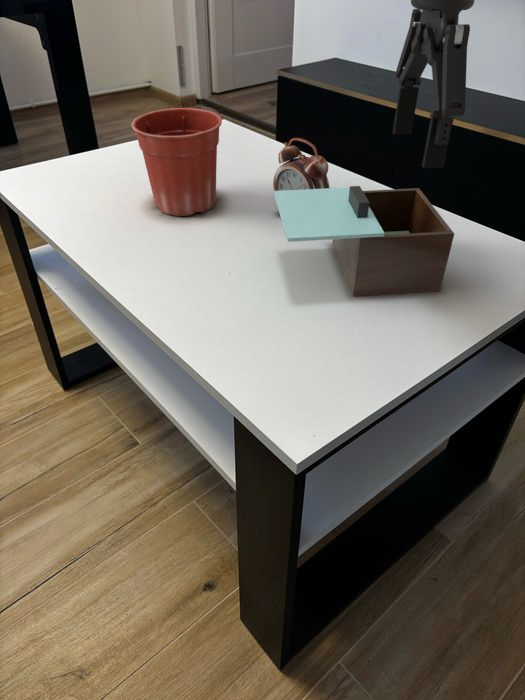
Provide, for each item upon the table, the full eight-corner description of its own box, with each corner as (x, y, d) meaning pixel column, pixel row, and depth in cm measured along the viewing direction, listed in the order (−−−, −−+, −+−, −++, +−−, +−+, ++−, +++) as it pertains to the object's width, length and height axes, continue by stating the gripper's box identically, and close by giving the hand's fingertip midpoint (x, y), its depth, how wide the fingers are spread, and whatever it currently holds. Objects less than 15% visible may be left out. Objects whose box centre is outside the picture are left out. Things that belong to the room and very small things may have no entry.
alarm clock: (271, 213, 106) (271, 135, 96) (288, 205, 108) (290, 128, 99) (313, 232, 100) (318, 150, 90) (329, 223, 102) (336, 143, 93)
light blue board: (384, 236, 78) (387, 217, 76) (287, 242, 76) (288, 222, 74) (357, 190, 90) (359, 172, 88) (273, 194, 89) (274, 176, 87)
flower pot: (133, 196, 112) (119, 115, 101) (206, 180, 118) (200, 102, 107) (161, 229, 101) (149, 142, 90) (240, 210, 107) (237, 126, 96)
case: (440, 291, 85) (454, 233, 78) (352, 296, 84) (360, 238, 77) (408, 241, 97) (419, 188, 91) (332, 245, 96) (336, 191, 89)
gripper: (528, -21, 55) (476, 182, 68) (440, -40, 74) (414, 121, 87) (457, -20, 54) (419, 184, 68) (387, -40, 73) (368, 123, 87)
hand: (416, 149), depth 78 cm, fingers open, 13 cm apart
